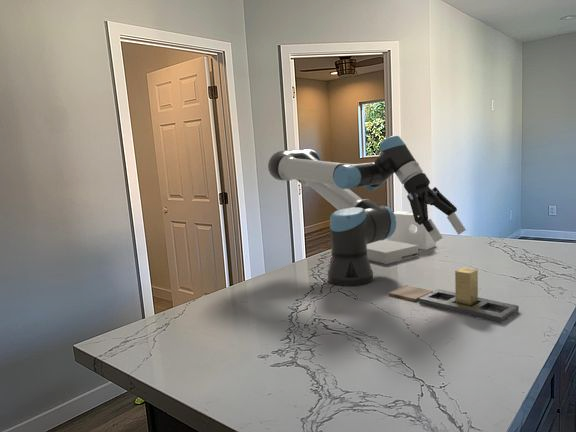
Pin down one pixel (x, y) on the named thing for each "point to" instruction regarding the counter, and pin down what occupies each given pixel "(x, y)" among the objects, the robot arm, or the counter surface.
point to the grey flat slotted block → (473, 311)
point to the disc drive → (390, 251)
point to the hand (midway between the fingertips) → (451, 236)
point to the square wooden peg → (466, 286)
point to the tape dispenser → (411, 231)
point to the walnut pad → (409, 293)
